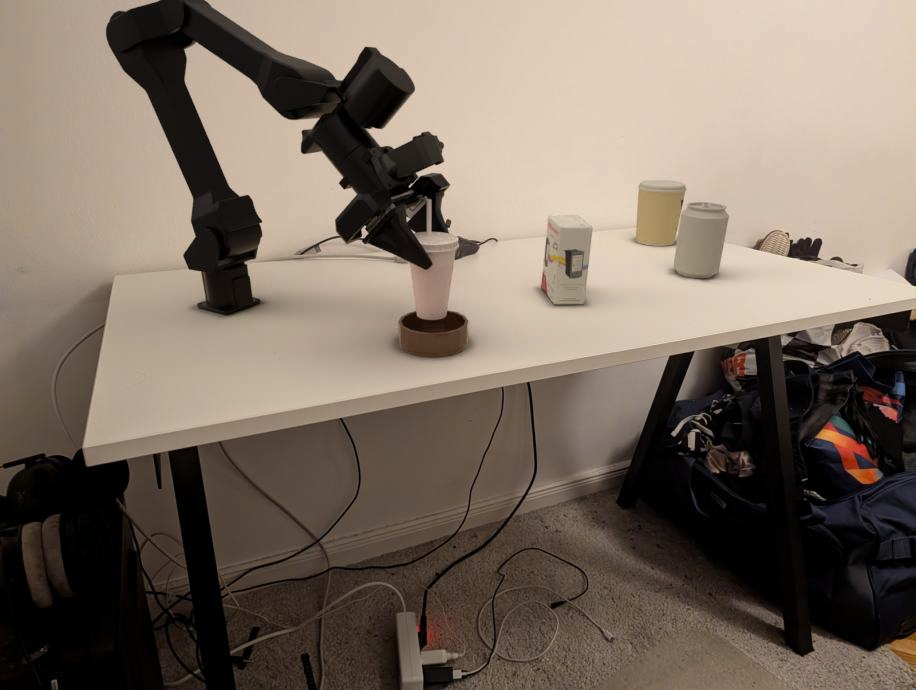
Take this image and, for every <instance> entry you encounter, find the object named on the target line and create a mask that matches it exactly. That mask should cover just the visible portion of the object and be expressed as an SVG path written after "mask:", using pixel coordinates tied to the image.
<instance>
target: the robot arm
mask: <svg viewBox="0 0 916 690" xmlns="http://www.w3.org/2000/svg"><path fill="white" fill-rule="evenodd" d="M105 37H106V41H107V44H108V46H109V48H110V50H111V52H112V54H113V55H114V57H115V59H116V61H117V62H118V64H119V66H120V68H121V69H122V70H123V72H124V73H125V74H126V75H127V76H128V77H129V78H131V79H132V80H133V82H135V83H136V84H137V85H138V86H139V87H141V88H142V90H144V91H145V93H146V94H147V97H148V99H149V102H150V104H151V106H152V108H153V110H154V113H155V115H156V117H157V120H158V122H159V124H160V127H161V128H162V131H163V133H164V135H165V137H166V140H167V142H168V144H169V147H170V149H171V151H172V154H173V156H174V158H175V161H176V162H177V165H178V167H179V170H180V172H181V174H182V176H183V178H184V181H185V183H186V185H187V188H188V190H189V192H190V195H191V197H192V206H191V215H190V223H191V226H192V229H193V233H194V238H193V240H192V241H191V243H190V244H189V246H187V249H186V250H185V251H184V253H183V254H182V257H183V259H184V262H185V264H186V266H187V268H188V270H190V271H195V272H200V273H201V280H202V285H203V286H202V287H203V292H204V297H205V300H202V301H200V302H197V303H196V306H197V308H200V309H202V310H203V309H204V310H208V311H210V312H215V313H218V314H222V315H229V314H233V313H236V312H238V311H240V310H243V309H247V308H249V307H252V306H254V305H257V304H260V303H261V301H262V300H261V298H259V297H255V296H253V292H252V291H253V289H252V282H251V276H250V275H249V268H248V264H247V263H246V262H248V261H251V260H253V261H254V260H256V259H257V255H258V249H259V245H260V244H261V239H262V238H263V230H262V226H261V224H262V223H263V220H262V218H260V216H259V214H258V212H257V210H256V207H255V204H254V201H253V199H252V197H251V196H250V194H245V195H239V194H238V193H236V191H234V190H233V189H232V188H231V187H230V186H231V185H229V182H228V180H227V178H226V176H225V173H224V170H223V169H222V166H221V164H220V162H219V160H218V156H217V155H216V152H215V150H214V148H213V145H212V143H211V140H210V138H209V136H208V133H207V131H206V129H205V127H204V124H203V122H202V119H201V118H200V117H201V116H200V115H199V112H198V110H197V108H196V105H195V103H194V100H193V98H192V96H191V93H190V91H189V89H188V87H187V84H186V72H187V64H188V57H187V54H186V50H187V49H188V48H191V47H193V46H194V45H196V43H197V44H198V45H200V46H201V47H202V48H204V49H205V50H207V51H208V52H210V54H213V55H215V57H217V58H219V59H220V60H222V61H223V62H225V63H226V64H227V65H228V66H230V67H232V68H233V69H235V70H236V71H238V72H239V73H241V74H242V75H244V76H245V77H246V78H248V79H249V80H251V82H252V83H254V85H255V86H256V87H257V89H258V91H259V93H260V95H261V97H262V99H264V100H265V101H266V102H267V104H269V105H270V107H272V108H273V110H274V111H276V113H278V114H279V115H280V116H281V117H282V118H284V119H287V120H289V121H300V120H314V119H318V120H317V121H316V122H315V124H314V125H313V127H312V128H309V129H302V130H301V142H300V153H301V154H302V155H309V154H315V153H316V154H317V153H321V152H322V154H323V155H324V157H326V159H327V160H328V161H329V162H330V163H331V165H332V166H333V167H334V168H335V170H336V171H337V172H338V174H340V176H341V177H342V178H341V179H340V181H339V182H338V185H340V187H341V188H342V189H343V190H349V189H351V190H352V191H353V192H354V193H355V196H354V197H353V198H352V199H351V200H350V202H349V203H348V204H347V205H346V206H345V207H344V209H343V210H342V211H341V212H340V213H339V214H338V216H337V217H336V218H335V219H334V222H335V224H334V226H335V232H336V234H337V235H338V236H339V237H340V238H341V240H342V241H343V242H344V244H345V245H349V244H351V243H354V242H356V241H359V240H360V239H361V238H362V240H361V243H363V244H364V245H370V246H373V247H374V248H375V247H376V248H377V249H379V250H382V251H384V252H387V253H389V254H392V255H393V256H396V257H398V258H400V259H402V260H404V261H406V262H408V263H409V264H410V263H412V264H414V265H416V266H418V267H420V268H423V269H425V270H428V269H429V268H430V267H431V266H432V265H433V263H432V261H431V259H430V258H429V256H428V254H427V253H426V251H425V250H424V248H423V247H422V245H421V244H420V242H419V241H418V239H417V238H416V236H415V235H414V233H419V232H427V199H431V232H443V233H449V234H450V231H449V229H448V226H447V224H446V220H445V219H444V216H443V212H442V203H443V198H444V197H445V192H446V191H447V190H448V189H449V188H450V187H451V184H450V182H449V181H448V180H447V178H446V177H445V176H444V175H443V174H442V173H441V172H430V173H426V174H423V175H420V176H419V175H418V174H417V173H419V172H421V171H423V170H425V169H428V168H430V167H432V166H439V165H441V164H443V163H445V159H444V157H443V149H444V148H445V144H444V142H443V141H440V140H439V138H438V135H435V134H432V133H431V132H430V131H422V132H420V134H418V135H414V136H413V137H412V139H410V140H409V141H407V142H405V143H403V144H401V145H400V146H397V147H395V148H393V146H390V145H384V146H381V145H380V144H379V143H378V142H377V140H376V139H375V138H374V137H373V135H372V134H371V132H369V130H371V129H377V130H383V129H384V128H386V127H387V125H388V124H389V123H390V122H391V121H392V119H394V118H395V116H396V114H397V113H398V112H399V111H400V110H401V109H402V107H403V106H404V105H405V104H406V102H407V101H408V100H410V98H411V97H412V95H413V94H414V93H415V91H416V86H415V83H414V81H413V79H412V78H411V76H410V75H409V73H408V72H407V71H406V70H405V69H404V68H403V67H400V66H399V65H397V63H395V62H394V61H393V60H391V58H389V57H387V56H385V55H383V54H382V53H381V52H380V50H379V49H378V48H377V47H374V46H364V47H363V49H362V50H361V51H360V53H359V55H358V57H357V59H356V61H355V63H354V64H353V66H352V67H351V68H350V69H349V71H348V72H347V74H346V75H345V76H344V78H343V79H342V80H340V79H337V78H336V77H335V76H334V74H333V73H332V72H331V71H330V70H329V69H326V68H325V67H322V66H320V65H317V64H315V63H312V62H310V61H308V60H305V59H303V58H299V57H296V56H292V55H290V54H286V53H285V52H281V51H278V50H277V49H275V48H274V47H272V46H271V45H269V44H268V43H266V42H265V41H264V40H262V39H261V38H259V37H257V36H256V35H254V34H253V33H251V32H250V31H249V30H247V29H245V28H244V27H242V26H241V25H239V24H237V23H236V22H235V21H234V20H232V19H230V18H229V17H227V16H226V15H225V14H223V13H221V12H220V11H219V10H217V9H216V8H214V7H213V6H212V5H211V4H210V3H209V2H208V1H206V0H158V1H154V2H151V3H146V4H144V5H139V6H135V7H133V8H130V9H127V10H117V11H115V12H113V13H112V15H111V16H110V18H109V20H108V22H107V24H106V27H105ZM407 218H409V219H407ZM364 227H365V228H364ZM362 229H364V230H365V231H366V233H367V234H366V235H365V236H364V238H363V232H362ZM455 253H457V250H456V251H455Z"/></svg>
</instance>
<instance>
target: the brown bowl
mask: <svg viewBox="0 0 916 690" xmlns="http://www.w3.org/2000/svg"><path fill="white" fill-rule="evenodd" d="M469 323H470V322H469V319H468V317H466V315H464V314H462V313H460V312H458V311H454V310H450V309H447V315H446V317H444V318H442V319H438V320H426V319H421V318H419V317H418V316H417V313H416V310H415V311H409V312H407V313H405V314H404V315H401V316H400V317H399V319H398V321H397V326H398V327H397V329H398V342H399V347H400V348H401V349H402V350H403V351H404V352H406V353H408V354H410V355H413V356H418V357H425V358H426V357H427V358H439V357H448V356H452V355H456V354H459V353H461V352H462V351H464V350H465V349H466V348H467V347H468V344H469Z"/></svg>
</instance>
